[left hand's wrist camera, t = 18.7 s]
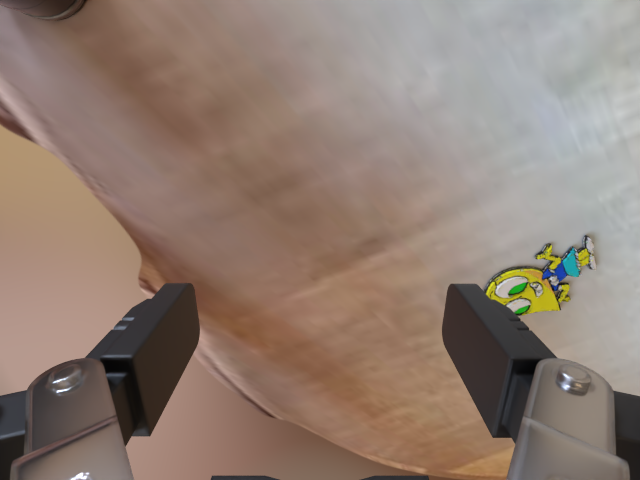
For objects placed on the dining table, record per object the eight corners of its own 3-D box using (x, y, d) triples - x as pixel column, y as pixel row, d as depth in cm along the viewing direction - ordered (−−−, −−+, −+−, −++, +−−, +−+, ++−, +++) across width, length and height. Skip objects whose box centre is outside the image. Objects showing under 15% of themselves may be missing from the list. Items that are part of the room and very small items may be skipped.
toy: (604, 300, 45) (489, 340, 47) (599, 296, 45) (486, 336, 48) (591, 231, 41) (468, 278, 43) (586, 229, 42) (465, 275, 44)
